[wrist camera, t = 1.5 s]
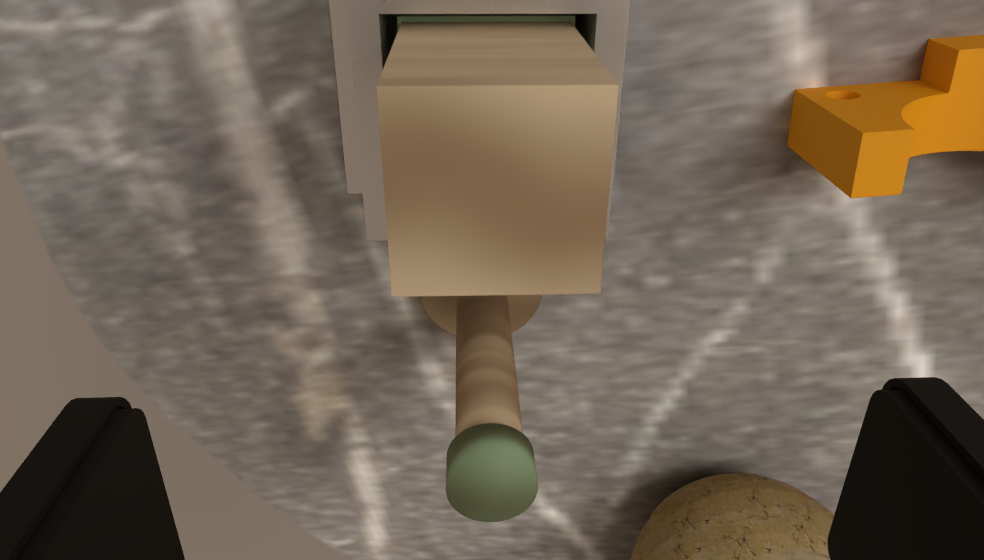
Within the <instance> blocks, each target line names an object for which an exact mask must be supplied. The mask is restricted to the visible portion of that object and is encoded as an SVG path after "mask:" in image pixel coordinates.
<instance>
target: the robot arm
mask: <svg viewBox="0 0 984 560" xmlns="http://www.w3.org/2000/svg"><path fill="white" fill-rule="evenodd" d="M828 553H829V557H830V560H984V420H983V419H982V418H981V417H980V416H979V415H978V414H977V413H976V412H975V411H974V410H973V409H972V408H971V407H970V406H969V405H968V404H967V403H966V402H965V401H964V400H963V399H962V398H961V397H960V396H959V395H958V394H957V393H956V392H955V391H954V390H953V389H952V388H951V387H950V386H949V385H948V384H947V383H946V382H945V381H943V380H942V379H939V378H935V377H929V378H894V379H891V380H889V381H887V382H886V383H885V384H884V386H883V389H882V390H878V391H875V392H874V393H873V394H872V397H871V399H870V402H869V405H868V408H867V411H866V414H865V418H864V421H863V424H862V427H861V431H860V434H859V437H858V440H857V444H856V447H855V450H854V453H853V457H852V460H851V463H850V466H849V470H848V473H847V476H846V479H845V482H844V486H843V489H842V492H841V495H840V499H839V502H838V505H837V508H836V512H835V515H834V518H833V521H832V525H831V528H830V531H829V534H828ZM0 560H185V559H184V554H183V551H182V547H181V543H180V540H179V536H178V532H177V529H176V525H175V522H174V518H173V514H172V511H171V507H170V504H169V500H168V497H167V493H166V489H165V486H164V482H163V478H162V475H161V471H160V468H159V464H158V460H157V457H156V454H155V450H154V446H153V442H152V439H151V435H150V431H149V428H148V424H147V420H146V417H145V415H144V413H143V411H142V410H141V409H137V408H134V409H132V408H131V406H130V403H129V402H128V401H127V400H126V399H125V398H122V397H106V398H76V399H74V400H71V401H70V402H69V403H68V404H67V405H66V406H65V407H64V409H63V410H62V411H61V413H60V414H59V415H58V417H57V418H56V419H55V421H54V422H53V423H52V425H51V426H50V427H49V429H48V430H47V431H46V433H45V434H44V435H43V437H42V438H41V439H40V440H39V442H38V443H37V444H36V446H35V447H34V449H33V450H32V451H31V453H30V454H29V455H28V457H27V458H26V459H25V460H24V462H23V463H22V465H21V466H20V467H19V468H18V470H17V471H16V473H15V474H14V475H13V476H12V478H11V479H10V481H9V482H8V483H7V484H6V486H5V487H4V488H3V490H2V491H1V492H0Z"/></svg>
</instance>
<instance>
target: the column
mask: <svg viewBox="0 0 984 560" xmlns="http://www.w3.org/2000/svg"><path fill="white" fill-rule="evenodd" d="M575 18H576V16H575V15H574V14H398V15H397V30H398V33H397V35H396V38H395V40H394V43H393V45H392V48H391V51H390V53H389V56H388V58H387V61H386V63H385V66H384V68H383V71H382V73H381V76H380V78H379V81H378V84H377V100H378V114H379V128H380V142H381V156H382V170H383V184H384V198H385V212H386V226H387V240H388V254H389V268H390V282H391V296H392V297H410V296H475V295H540V294H600V291H601V280H602V268H603V257H604V246H605V234H606V223H607V212H608V201H609V189H610V178H611V167H612V155H613V144H614V133H615V121H616V110H617V99H618V87H619V85H618V83H617V82H616V81H615V79H614V78H613V77H612V75H611V74H610V73H609V71H608V70H607V69H606V67H605V66H604V65H603V63H602V62H601V61H600V60H599V58H598V57H597V56H596V54H595V53H594V52H593V50H592V49H591V48H590V46H589V45H588V44H587V42H586V41H585V40H584V38H583V37H582V36H581V35H580V33H579V32H578V31H577V29H576V28H575Z"/></svg>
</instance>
